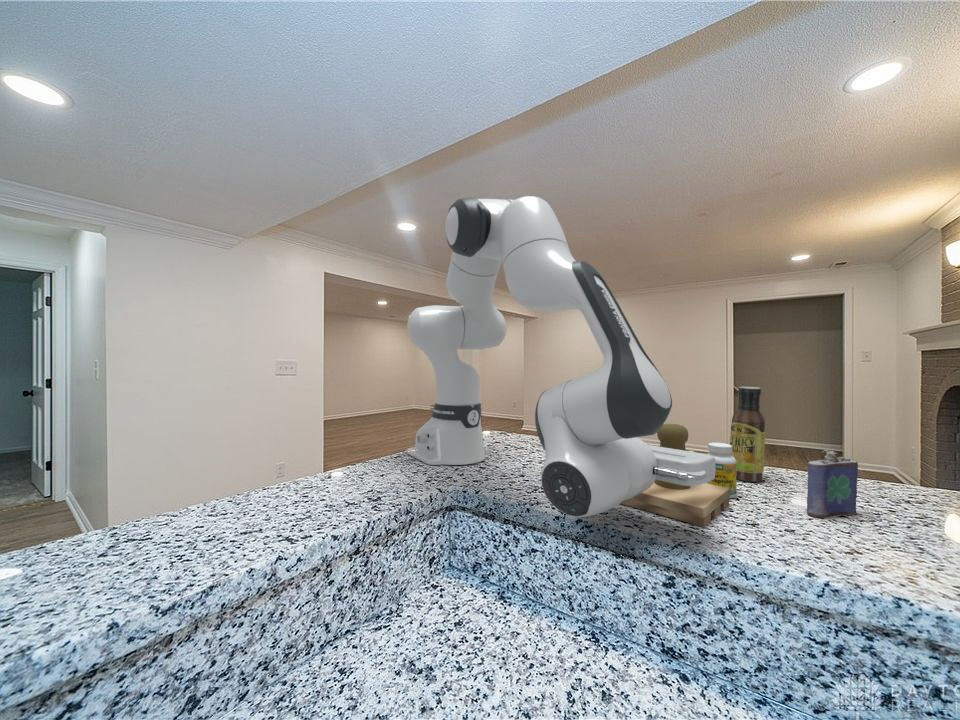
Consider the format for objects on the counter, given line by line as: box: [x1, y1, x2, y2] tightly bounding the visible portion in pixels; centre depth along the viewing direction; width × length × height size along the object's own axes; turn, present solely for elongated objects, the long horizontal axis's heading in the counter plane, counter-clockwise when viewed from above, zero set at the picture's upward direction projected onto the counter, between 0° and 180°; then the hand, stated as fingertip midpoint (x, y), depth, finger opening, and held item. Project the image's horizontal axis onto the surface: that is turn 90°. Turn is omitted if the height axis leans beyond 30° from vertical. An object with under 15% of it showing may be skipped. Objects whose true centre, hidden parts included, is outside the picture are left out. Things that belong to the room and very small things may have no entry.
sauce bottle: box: [729, 386, 766, 483], centre depth 88 cm, size 6×6×20 cm
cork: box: [654, 423, 691, 490], centre depth 75 cm, size 6×6×11 cm
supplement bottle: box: [707, 442, 737, 499], centre depth 78 cm, size 5×5×10 cm
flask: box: [806, 449, 859, 519], centre depth 69 cm, size 9×3×11 cm, turn 102°
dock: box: [620, 483, 730, 528], centre depth 74 cm, size 16×14×3 cm
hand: (661, 450), depth 71 cm, fingers open, 8 cm apart
